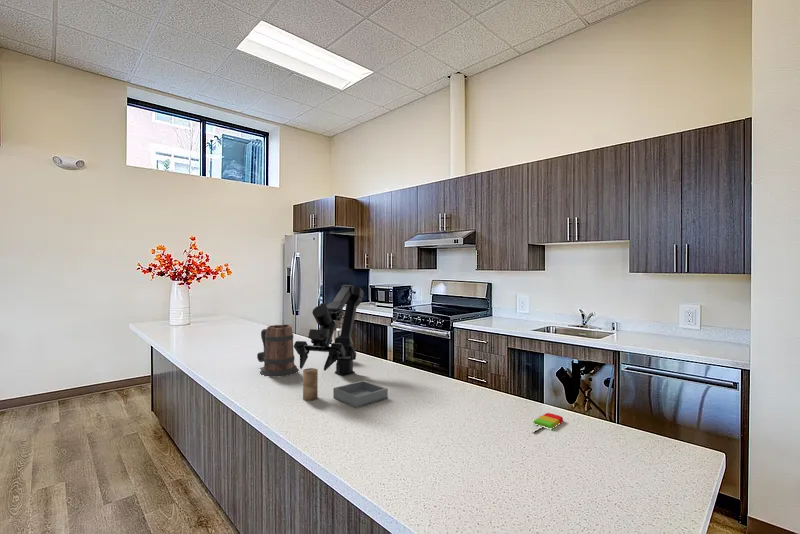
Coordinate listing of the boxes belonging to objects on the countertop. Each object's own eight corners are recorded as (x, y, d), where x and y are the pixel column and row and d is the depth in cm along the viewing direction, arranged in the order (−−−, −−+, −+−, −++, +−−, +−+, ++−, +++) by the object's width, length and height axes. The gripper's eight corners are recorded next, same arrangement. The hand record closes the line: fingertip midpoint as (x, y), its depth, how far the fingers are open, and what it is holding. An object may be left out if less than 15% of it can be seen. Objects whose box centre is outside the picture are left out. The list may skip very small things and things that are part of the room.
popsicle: (564, 422, 122) (564, 416, 122) (542, 437, 111) (542, 431, 111) (546, 417, 126) (547, 411, 126) (523, 431, 115) (523, 425, 115)
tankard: (307, 370, 178) (307, 325, 177) (274, 379, 164) (274, 330, 164) (274, 362, 192) (274, 320, 192) (242, 369, 178) (242, 325, 178)
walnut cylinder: (312, 395, 145) (312, 367, 145) (320, 398, 141) (320, 370, 141) (300, 398, 141) (300, 370, 141) (307, 401, 138) (307, 372, 138)
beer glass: (346, 358, 201) (347, 328, 201) (343, 361, 194) (343, 330, 194) (333, 357, 202) (333, 327, 202) (329, 361, 195) (329, 330, 195)
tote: (363, 389, 151) (363, 380, 151) (387, 398, 142) (387, 388, 142) (333, 397, 142) (333, 388, 142) (357, 408, 132) (357, 397, 132)
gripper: (296, 319, 150) (280, 355, 140) (342, 321, 146) (330, 358, 135) (305, 336, 158) (291, 371, 147) (350, 339, 154) (339, 375, 143)
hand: (312, 369), depth 143 cm, fingers open, 9 cm apart
